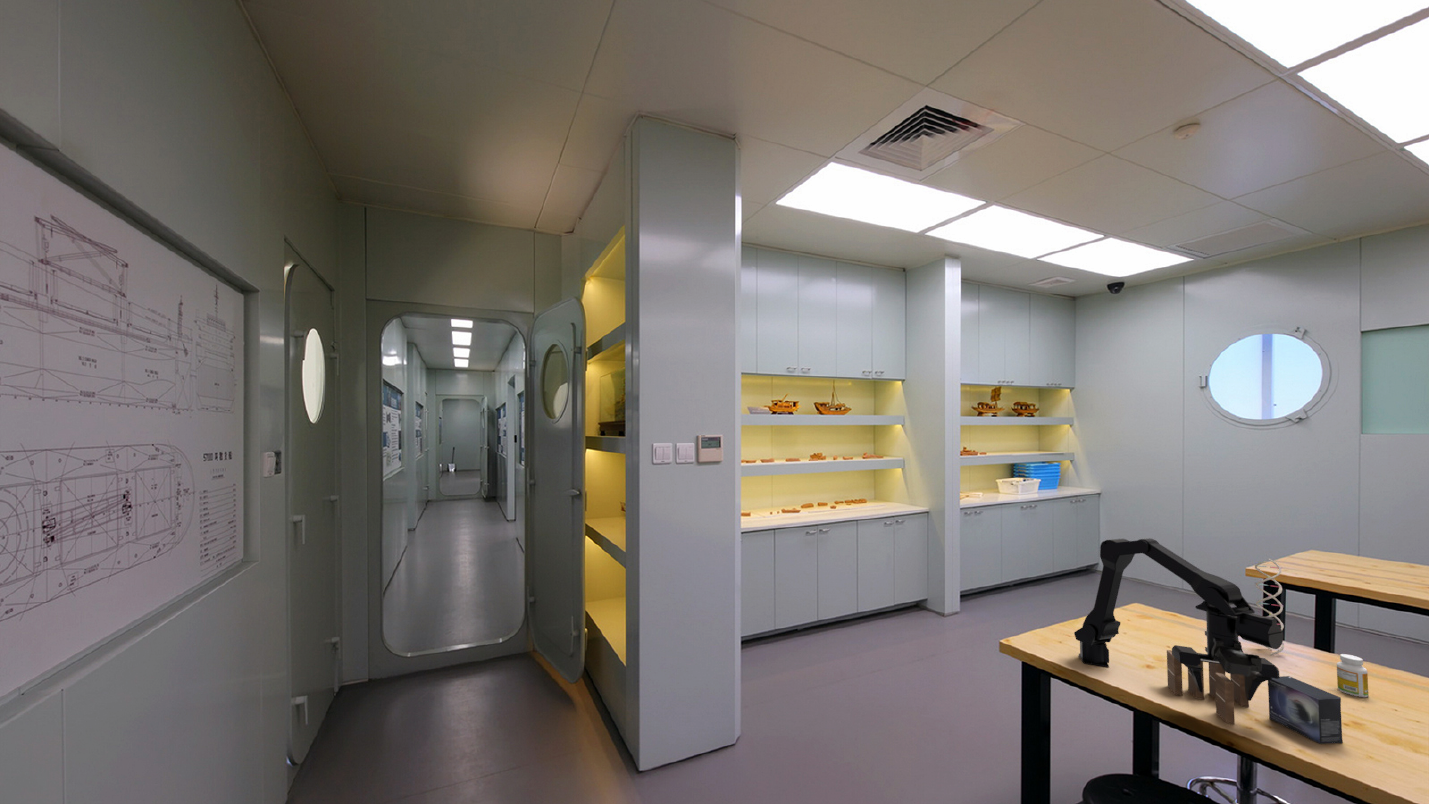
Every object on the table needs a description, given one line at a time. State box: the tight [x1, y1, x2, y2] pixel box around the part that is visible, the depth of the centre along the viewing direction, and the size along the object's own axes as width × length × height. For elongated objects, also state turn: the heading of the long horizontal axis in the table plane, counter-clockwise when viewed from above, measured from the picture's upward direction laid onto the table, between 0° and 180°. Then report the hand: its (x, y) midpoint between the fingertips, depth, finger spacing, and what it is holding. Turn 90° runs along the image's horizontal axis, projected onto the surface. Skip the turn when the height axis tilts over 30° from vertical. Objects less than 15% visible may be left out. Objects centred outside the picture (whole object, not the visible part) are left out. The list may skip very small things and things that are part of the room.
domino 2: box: [1187, 661, 1205, 700], centre depth 141 cm, size 2×5×10 cm, turn 156°
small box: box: [1267, 675, 1343, 745], centre depth 125 cm, size 11×6×10 cm, turn 5°
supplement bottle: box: [1336, 653, 1369, 698], centre depth 143 cm, size 5×5×10 cm
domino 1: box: [1166, 649, 1184, 697], centre depth 143 cm, size 2×5×10 cm, turn 156°
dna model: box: [1254, 557, 1285, 656], centre depth 169 cm, size 7×6×30 cm
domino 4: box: [1215, 673, 1236, 725], centre depth 129 cm, size 2×5×10 cm, turn 156°
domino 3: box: [1208, 663, 1226, 700], centre depth 139 cm, size 2×5×10 cm, turn 156°
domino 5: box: [1229, 674, 1250, 708], centre depth 137 cm, size 2×5×10 cm, turn 156°
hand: (1224, 695), depth 130 cm, fingers open, 9 cm apart
